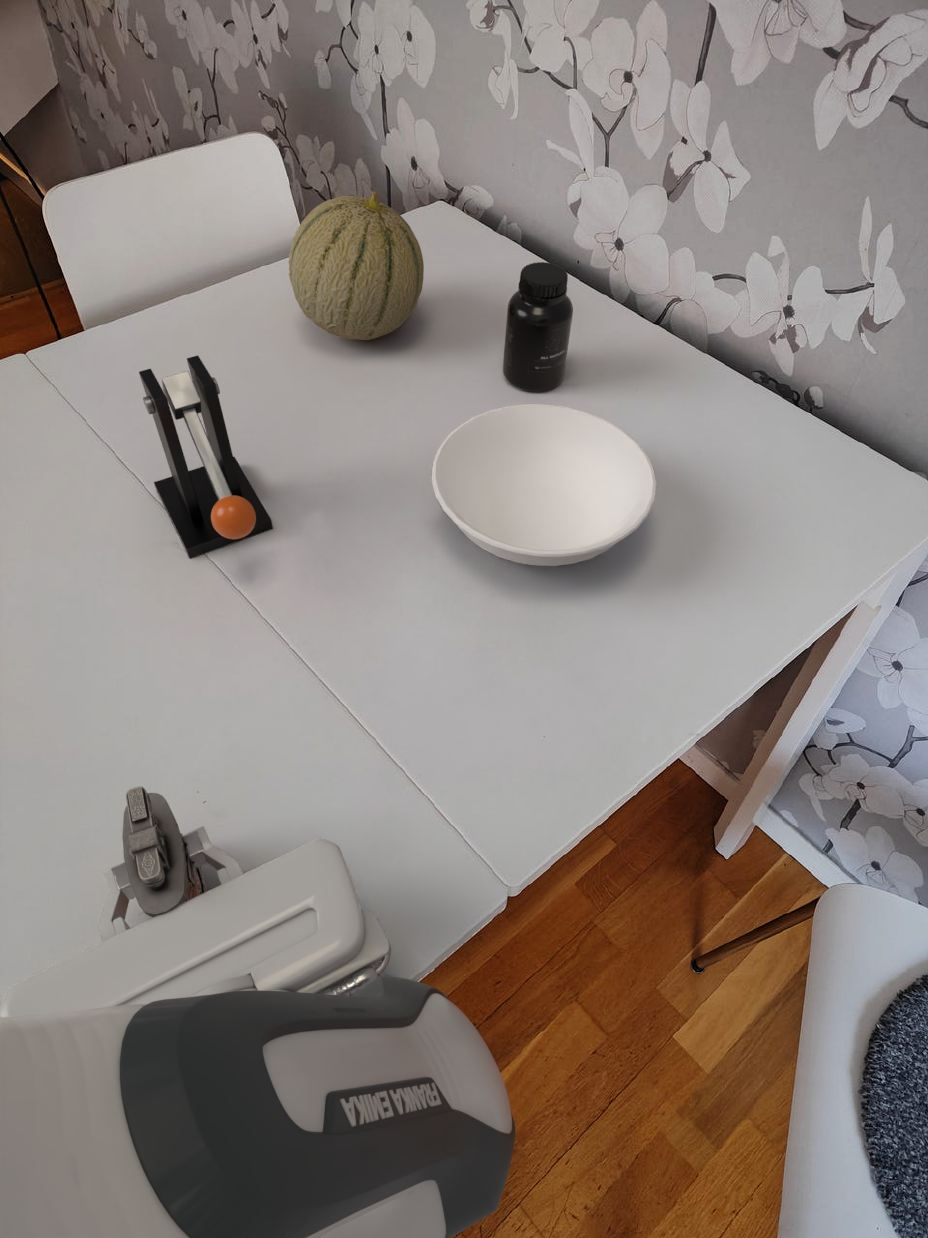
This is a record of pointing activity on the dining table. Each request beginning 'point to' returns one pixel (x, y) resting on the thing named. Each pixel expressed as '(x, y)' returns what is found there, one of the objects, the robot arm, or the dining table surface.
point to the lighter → (157, 855)
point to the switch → (209, 460)
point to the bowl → (543, 483)
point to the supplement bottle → (538, 328)
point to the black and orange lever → (192, 490)
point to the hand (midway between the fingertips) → (156, 852)
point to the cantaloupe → (356, 267)
